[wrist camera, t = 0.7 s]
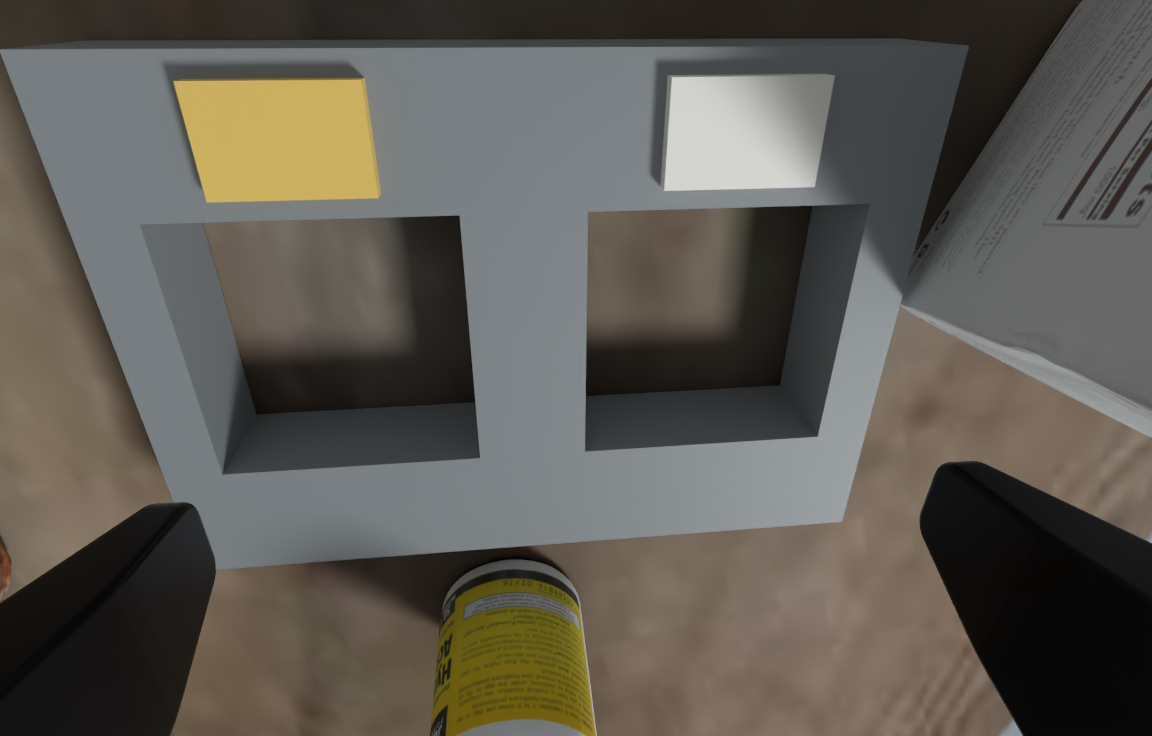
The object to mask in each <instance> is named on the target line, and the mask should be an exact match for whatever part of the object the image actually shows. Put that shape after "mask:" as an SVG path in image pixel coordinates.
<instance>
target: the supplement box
mask: <svg viewBox="0 0 1152 736" xmlns="http://www.w3.org/2000/svg"><path fill="white" fill-rule="evenodd" d="M900 307H902V308H904V309H905V310H907V311H909V312H910V313H912V314H914V315H915V316H917V317H919V318H920V319H922V320H924V321H926V322H928V323H930V324H932V325H933V326H935V327H937V328H939V329H941V330H943V331H945V332H946V333H948V334H950V335H952V336H954V337H956V338H958V339H960V340H962V341H964V342H966V343H968V344H969V345H971V346H973V347H975V348H977V349H979V350H981V351H983V352H985V353H987V354H989V355H990V356H992V357H994V358H996V359H998V360H1000V361H1002V362H1004V363H1006V364H1008V365H1010V366H1012V367H1013V368H1015V369H1017V370H1019V371H1021V372H1023V373H1025V374H1027V375H1029V376H1031V377H1033V378H1035V379H1037V380H1039V381H1041V382H1043V383H1045V384H1047V385H1049V386H1050V387H1052V388H1054V389H1056V390H1058V391H1060V392H1062V393H1064V394H1066V395H1068V396H1070V397H1072V398H1074V399H1076V400H1078V401H1080V402H1082V403H1084V404H1086V405H1088V406H1090V407H1092V408H1094V409H1096V410H1097V411H1099V412H1101V413H1103V414H1105V415H1107V416H1109V417H1111V418H1113V419H1115V420H1117V421H1119V422H1121V423H1123V424H1125V425H1127V426H1129V427H1131V428H1133V429H1135V430H1137V431H1139V432H1141V433H1143V434H1145V435H1147V436H1149V437H1152V0H1082V2H1081V3H1080V4H1079V5H1078V6H1077V7H1076V9H1075V10H1074V12H1073V13H1072V15H1071V16H1070V18H1069V19H1068V21H1067V22H1066V24H1065V25H1064V26H1063V28H1062V29H1061V31H1060V32H1059V34H1058V35H1057V37H1056V38H1055V40H1054V41H1053V43H1052V44H1051V46H1050V47H1049V49H1048V50H1047V52H1046V54H1045V55H1044V57H1043V58H1042V60H1041V61H1040V63H1039V64H1038V66H1037V67H1036V69H1035V70H1034V72H1033V73H1032V75H1031V77H1030V78H1029V80H1028V81H1027V83H1026V84H1025V86H1024V87H1023V89H1022V90H1021V92H1020V93H1019V95H1018V96H1017V98H1016V99H1015V101H1014V103H1013V104H1012V106H1011V107H1010V109H1009V110H1008V112H1007V113H1006V115H1005V116H1004V118H1003V119H1002V121H1001V122H1000V124H999V126H998V127H997V129H996V130H995V132H994V133H993V135H992V136H991V138H990V139H989V141H988V142H987V144H986V146H985V147H984V149H983V150H982V152H981V153H980V155H979V156H978V158H977V159H976V161H975V162H974V164H973V166H972V167H971V169H970V170H969V172H968V173H967V175H966V176H965V178H964V179H963V181H962V182H961V184H960V185H959V187H958V189H957V190H956V192H955V193H954V195H953V196H952V198H951V199H950V201H949V202H948V204H947V205H946V207H945V208H944V210H943V211H942V213H941V215H940V216H939V218H938V219H937V221H936V222H935V224H934V225H933V227H932V228H931V230H930V232H929V233H928V235H927V236H926V238H925V239H924V241H923V242H922V244H921V246H920V247H919V249H918V250H917V252H916V253H915V255H914V256H913V258H912V262H911V266H910V269H909V273H908V277H907V280H906V284H905V288H904V292H903V295H902V299H901V303H900Z"/></svg>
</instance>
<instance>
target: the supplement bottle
mask: <svg viewBox="0 0 1152 736" xmlns="http://www.w3.org/2000/svg"><path fill="white" fill-rule="evenodd" d="M430 736H597V733H596V726H595V718H594V710H593V702H592V694H591V686H590V677H589V670H588V663H587V655H586V647H585V639H584V630H583V622H582V615H581V608H580V602H579V597H578V594H577V592H576V590H575V588H574V586H573V585H572V583H571V582H570V581H569V580H568V579H567V578H566V577H565V576H564V575H563V574H562V573H561V572H559V571H558V570H556V569H554V568H553V567H551V566H548V565H546V564H543V563H540V562H535V561H530V560H521V559H511V560H501V561H497V562H492V563H489V564H486V565H483V566H480V567H478V568H476V569H473V570H471V571H470V572H468V573H466V574H465V575H463V576H462V577H461V578H460V579H459V580H458V581H456V583H455V584H454V585H453V586H452V587H451V589H450V590H449V592H448V593H447V595H446V598H445V601H444V604H443V608H442V614H441V622H440V632H439V645H438V656H437V667H436V678H435V689H434V700H433V711H432V721H431V732H430Z"/></svg>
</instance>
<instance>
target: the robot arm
mask: <svg viewBox="0 0 1152 736" xmlns="http://www.w3.org/2000/svg"><path fill="white" fill-rule="evenodd" d="M920 529H921V534H922V536H923V539H924V541H925V543H926V546H927V548H928V550H929V552H930V554H931V556H932V559H933V561H934V563H935V565H936V567H937V570H938V572H939V574H940V576H941V578H942V581H943V583H944V585H945V587H946V589H947V592H948V594H949V596H950V598H951V600H952V603H953V605H954V607H955V609H956V611H957V614H958V616H959V618H960V620H961V622H962V625H963V627H964V629H965V631H966V633H967V635H968V637H969V639H970V642H971V644H972V646H973V648H974V650H975V652H976V654H977V656H978V658H979V659H980V661H981V663H982V665H983V667H984V669H985V670H986V672H987V674H988V676H989V678H990V679H991V681H992V683H993V685H994V686H995V688H996V690H997V692H998V693H999V695H1000V697H1001V698H1002V700H1003V702H1004V704H1005V705H1006V707H1007V709H1008V711H1009V712H1010V714H1011V716H1012V718H1013V719H1014V721H1015V723H1016V724H1017V726H1018V728H1019V730H1020V731H1021V733H1022V735H1023V736H1152V543H1150V542H1148V541H1146V540H1144V539H1142V538H1139V537H1137V536H1135V535H1133V534H1131V533H1129V532H1127V531H1125V530H1123V529H1121V528H1118V527H1116V526H1114V525H1112V524H1110V523H1108V522H1106V521H1104V520H1102V519H1100V518H1098V517H1095V516H1093V515H1091V514H1089V513H1087V512H1085V511H1083V510H1081V509H1079V508H1077V507H1074V506H1072V505H1070V504H1068V503H1066V502H1064V501H1062V500H1060V499H1058V498H1056V497H1054V496H1051V495H1049V494H1047V493H1045V492H1043V491H1041V490H1039V489H1037V488H1035V487H1033V486H1030V485H1028V484H1026V483H1024V482H1022V481H1020V480H1018V479H1016V478H1014V477H1012V476H1010V475H1007V474H1005V473H1003V472H1001V471H999V470H997V469H995V468H993V467H991V466H989V465H986V464H984V463H982V462H978V461H963V462H948V463H945V464H942V465H941V466H940V467H939V468H938V469H937V471H936V473H935V475H934V478H933V481H932V483H931V486H930V489H929V491H928V494H927V497H926V500H925V502H924V505H923V508H922V510H921V514H920ZM215 574H216V562H215V557H214V553H213V551H212V548H211V545H210V542H209V539H208V537H207V534H206V531H205V528H204V526H203V523H202V520H201V517H200V514H199V512H198V510H197V509H196V507H195V506H194V505H192V504H190V503H187V502H176V503H157V504H151V505H148V506H146V507H144V508H142V509H141V510H139V511H138V512H136V513H135V514H133V515H132V516H130V517H129V518H127V519H126V520H124V521H123V522H121V523H120V524H118V525H117V526H115V527H114V528H112V529H111V530H109V531H108V532H106V533H105V534H103V535H102V536H100V537H99V538H97V539H96V540H94V541H93V542H91V543H90V544H88V545H87V546H85V547H84V548H82V549H81V550H79V551H78V552H76V553H75V554H73V555H72V556H70V557H69V558H67V559H66V560H64V561H63V562H61V563H60V564H58V565H57V566H55V567H54V568H52V569H50V570H49V571H47V572H46V573H44V574H43V575H41V576H40V577H38V578H37V579H35V580H34V581H32V582H31V583H29V584H28V585H26V586H25V587H23V588H22V589H20V590H19V591H17V592H16V593H14V594H13V595H11V596H10V597H8V598H7V599H5V600H4V601H2V602H1V603H0V736H170V735H171V732H172V729H173V727H174V724H175V721H176V718H177V715H178V711H179V708H180V705H181V701H182V698H183V695H184V691H185V687H186V684H187V680H188V676H189V673H190V669H191V665H192V661H193V658H194V654H195V650H196V647H197V643H198V639H199V636H200V632H201V628H202V625H203V621H204V617H205V614H206V610H207V606H208V603H209V599H210V595H211V591H212V588H213V584H214V580H215Z"/></svg>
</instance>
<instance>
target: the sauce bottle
mask: <svg viewBox="0 0 1152 736" xmlns="http://www.w3.org/2000/svg"><path fill="white" fill-rule="evenodd" d="M10 574H11V559H10V556H9V555H8V553H7V551H6V549H5V547H4V545H3V543H2V541H1V540H0V603H1V602H2V600H3V598H4V596H5V593H6V591H7V589H8V588H9V585H10Z"/></svg>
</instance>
